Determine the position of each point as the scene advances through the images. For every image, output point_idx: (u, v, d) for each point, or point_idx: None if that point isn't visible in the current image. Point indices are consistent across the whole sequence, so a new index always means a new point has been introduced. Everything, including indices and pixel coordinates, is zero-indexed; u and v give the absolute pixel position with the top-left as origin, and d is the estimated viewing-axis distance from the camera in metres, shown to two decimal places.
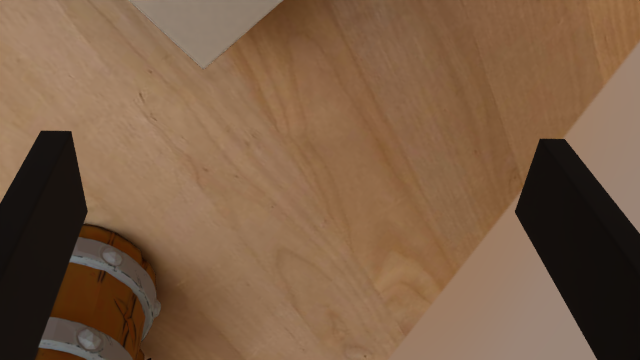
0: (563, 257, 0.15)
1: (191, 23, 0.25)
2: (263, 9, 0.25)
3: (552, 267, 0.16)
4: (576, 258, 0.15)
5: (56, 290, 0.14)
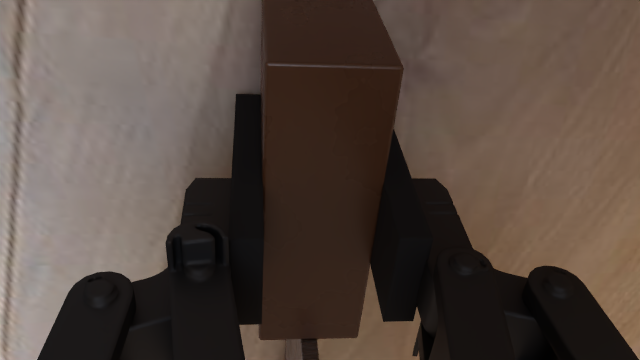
0: None
1: None
2: None
3: None
4: None
5: None
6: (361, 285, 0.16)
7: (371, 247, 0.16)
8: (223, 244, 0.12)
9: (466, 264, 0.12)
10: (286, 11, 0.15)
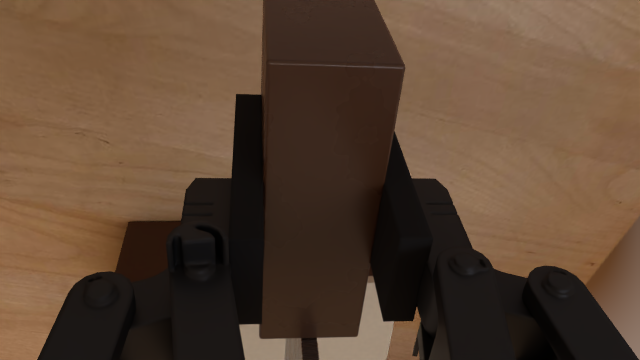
0: None
1: None
2: None
3: None
4: None
5: None
6: (361, 284, 0.16)
7: (372, 246, 0.16)
8: (223, 244, 0.12)
9: (466, 264, 0.12)
10: (287, 9, 0.15)
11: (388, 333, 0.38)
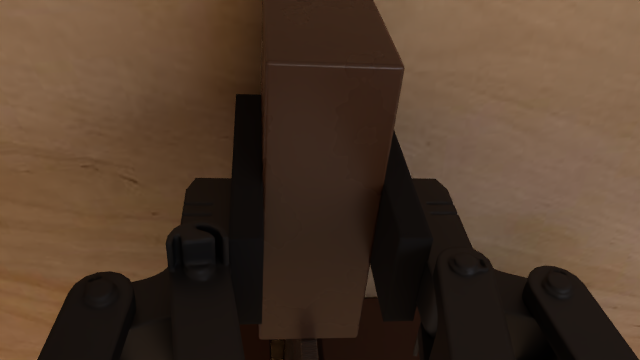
0: None
1: None
2: None
3: None
4: None
5: None
6: (361, 285, 0.16)
7: (371, 247, 0.16)
8: (223, 244, 0.12)
9: (466, 264, 0.12)
10: (287, 10, 0.15)
11: None
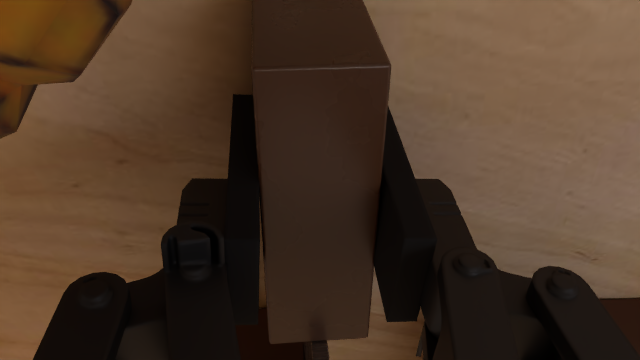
0: None
1: None
2: None
3: None
4: None
5: None
6: (367, 285, 0.16)
7: (373, 246, 0.16)
8: (218, 244, 0.12)
9: (470, 264, 0.12)
10: (275, 16, 0.15)
11: None
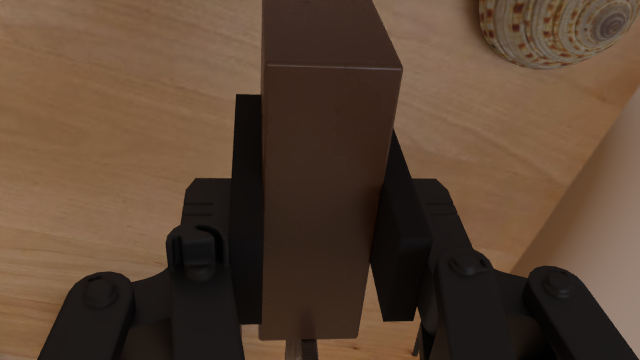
0: None
1: None
2: None
3: None
4: None
5: None
6: (361, 285, 0.16)
7: (371, 247, 0.16)
8: (223, 244, 0.12)
9: (466, 264, 0.12)
10: (286, 12, 0.15)
11: None
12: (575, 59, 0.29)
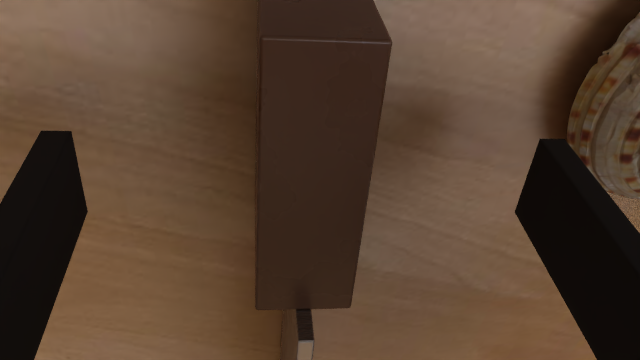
0: (563, 258, 0.15)
1: None
2: None
3: (553, 267, 0.16)
4: (576, 258, 0.15)
5: (56, 290, 0.14)
6: (353, 256, 0.17)
7: (363, 218, 0.16)
8: None
9: None
10: None
11: None
12: None
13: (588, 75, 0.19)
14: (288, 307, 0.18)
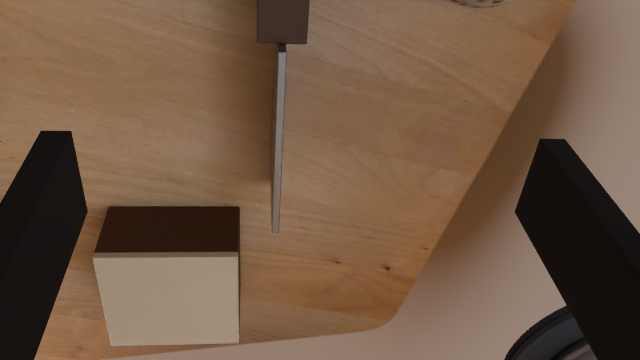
0: (563, 258, 0.15)
1: None
2: None
3: (553, 267, 0.16)
4: (576, 258, 0.15)
5: (56, 290, 0.14)
6: (306, 7, 0.34)
7: None
8: None
9: None
10: None
11: (235, 300, 0.47)
12: None
13: None
14: (273, 41, 0.35)
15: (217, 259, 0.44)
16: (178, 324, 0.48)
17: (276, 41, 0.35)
